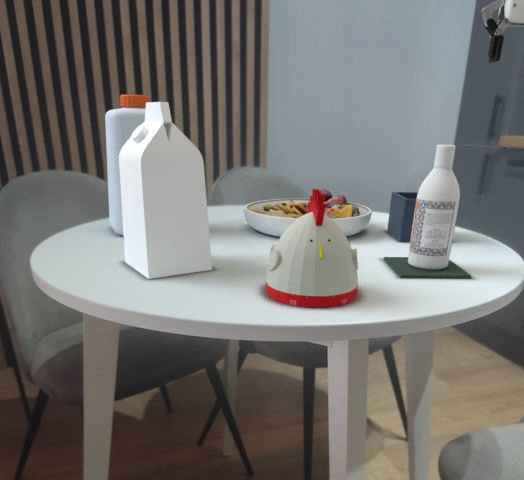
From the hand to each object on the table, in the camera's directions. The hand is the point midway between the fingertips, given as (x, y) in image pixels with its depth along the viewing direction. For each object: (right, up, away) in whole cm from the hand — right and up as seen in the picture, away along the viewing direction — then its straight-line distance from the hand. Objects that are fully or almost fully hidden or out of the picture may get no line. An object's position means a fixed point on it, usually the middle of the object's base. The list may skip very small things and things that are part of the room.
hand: (519, 62), depth 93 cm
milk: (-65, -39, -5) cm, 76 cm away
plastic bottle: (-76, -26, +23) cm, 83 cm away
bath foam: (-19, -39, -4) cm, 44 cm away
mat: (-19, -39, -4) cm, 44 cm away
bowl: (-38, -25, +26) cm, 52 cm away
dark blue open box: (-13, -28, +21) cm, 37 cm away
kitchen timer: (-41, -45, -17) cm, 63 cm away
